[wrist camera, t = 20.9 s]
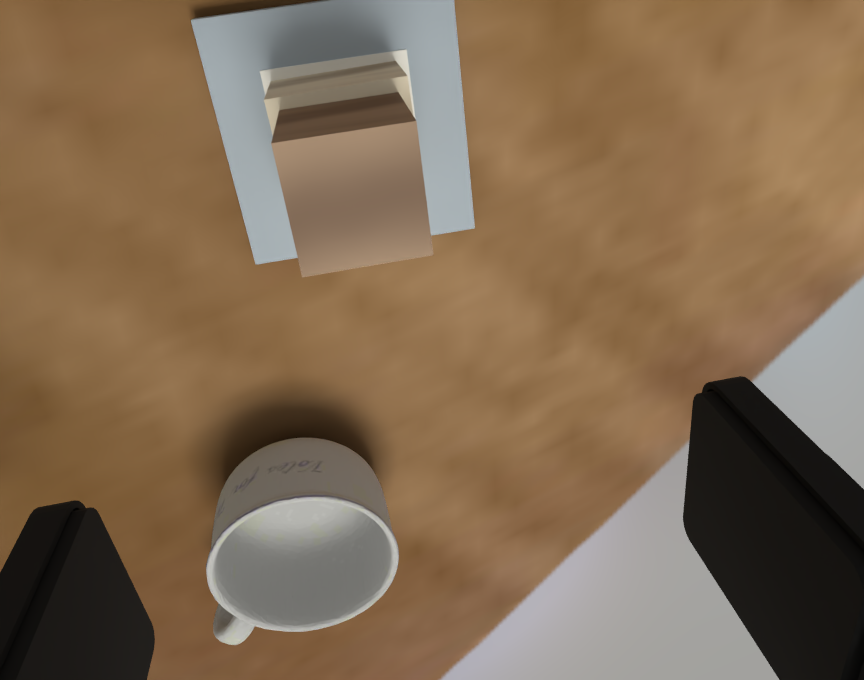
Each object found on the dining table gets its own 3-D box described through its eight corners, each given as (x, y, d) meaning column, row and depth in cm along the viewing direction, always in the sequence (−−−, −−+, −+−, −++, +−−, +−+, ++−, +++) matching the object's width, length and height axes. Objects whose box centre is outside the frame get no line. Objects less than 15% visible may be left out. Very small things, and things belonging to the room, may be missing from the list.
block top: (279, 110, 28) (270, 143, 23) (398, 92, 29) (416, 121, 24) (304, 224, 31) (302, 277, 26) (413, 206, 31) (433, 255, 26)
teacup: (311, 384, 42) (310, 466, 35) (419, 482, 47) (436, 571, 40) (151, 506, 45) (121, 606, 38) (269, 587, 50) (262, 688, 43)
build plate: (194, 18, 32) (190, 20, 31) (448, -18, 33) (452, -17, 32) (257, 256, 38) (255, 265, 37) (470, 221, 39) (475, 228, 38)
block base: (270, 81, 33) (263, 99, 28) (395, 60, 33) (407, 75, 29) (299, 202, 36) (297, 236, 31) (413, 182, 36) (427, 213, 32)
